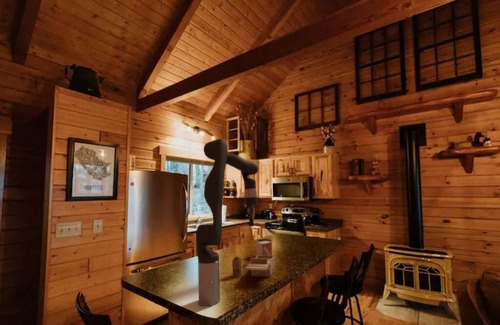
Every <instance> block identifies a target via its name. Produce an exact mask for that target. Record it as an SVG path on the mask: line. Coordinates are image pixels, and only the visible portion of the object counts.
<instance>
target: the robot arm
mask: <svg viewBox="0 0 500 325" xmlns="http://www.w3.org/2000/svg"><path fill="white" fill-rule="evenodd" d="M228 150H229V148H228V144H227V141H226V140H225V139H223V138H220V139H215V140H212V141H208V142H206V143H205V144H204V145H203V154H204V155H205V157H206V158H207V159H210V160H212V161H214V162H213V166H212V168H211V170H210V171H209V172H208V173H209V174H208V175H207V176H206V179H205V182H204V188H203V198H204V199H205V202H206V204H207V206H208V207H209V209H210V212H211V214H212V223H207V224H206V223H204V224H203V223H201V224H199V225H198V226H197V228H196V231H195V239H196V240H195V242H196V244H195V245H196V255H197V267H198V268H197V271H198V272H197V274H198V277H197V278H198V282H197V283H198V286H197V287H198V305H199V306H205V307H206V306H207V307H208V306H209V307H213V306H214V305H217V304H219V302H220V301H221V292H220V291H221V290H220V289H221V288H220V284H221V283H220V254H219V253H218V252H216V251H215V250H212V249H211V248H209V246H219V245H220V244H221V242H222V238H223V200H224V192H225V191H224V187H225V174H226V167H227V165H228V166H230V167H233V168H234V169H236V170H238V171H240V173H241V177H242V179H243V187H244V190H243V191H244V192H243V198H244V200H243V202H244V205H245V206H247V208H246V216H247V219H248V220H249V222H248V224H249V227H254V224H255V223H254V219H255V216H256V208H255V205H258V192H257V184H256V183H257V181H256V179H254V178H251V177H250V176H252V175H253V176H254V175H257V173H258V172H259V165H258V164H257V163H255V162H254V161H251V160H247V159H245V158H243V157H242V156H239V155H237V154H233V153H229V151H228Z"/></svg>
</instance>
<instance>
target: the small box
mask: <svg viewBox="0 0 500 325" xmlns="http://www.w3.org/2000/svg"><path fill="white" fill-rule="evenodd" d="M272 244H273V243H272V241H271V242H269V241H262V242H257V243H256V256H257V255H258V256H273V246H272Z"/></svg>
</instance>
